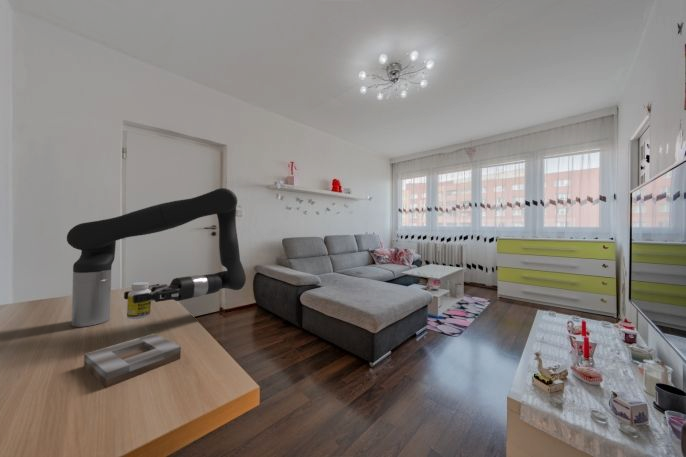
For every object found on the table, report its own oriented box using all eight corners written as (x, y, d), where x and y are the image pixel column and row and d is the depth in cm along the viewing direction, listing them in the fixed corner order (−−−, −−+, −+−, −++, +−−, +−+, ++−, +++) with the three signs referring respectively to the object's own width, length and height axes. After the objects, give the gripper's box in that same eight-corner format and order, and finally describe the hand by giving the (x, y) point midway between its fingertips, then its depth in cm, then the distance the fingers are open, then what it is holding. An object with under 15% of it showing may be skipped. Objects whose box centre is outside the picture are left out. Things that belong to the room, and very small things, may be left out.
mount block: (84, 366, 59) (84, 353, 59) (154, 344, 71) (154, 333, 71) (106, 387, 52) (106, 372, 52) (180, 358, 64) (180, 346, 64)
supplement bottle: (137, 320, 72) (138, 285, 72) (121, 318, 73) (123, 284, 73) (154, 314, 78) (156, 282, 78) (140, 312, 79) (141, 280, 79)
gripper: (179, 273, 91) (119, 281, 77) (202, 279, 84) (140, 288, 70) (178, 294, 91) (118, 305, 77) (201, 302, 84) (139, 316, 70)
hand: (129, 297), depth 73 cm, fingers closed on supplement bottle, 5 cm apart
